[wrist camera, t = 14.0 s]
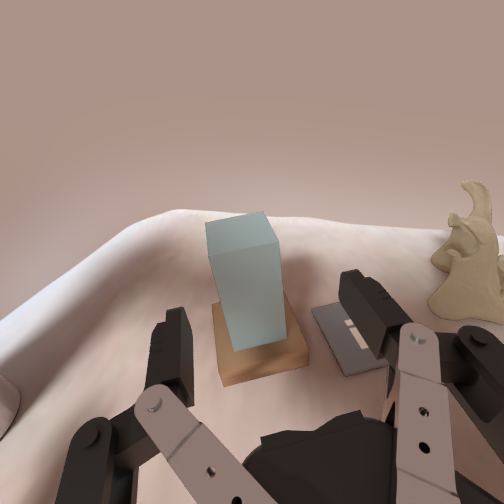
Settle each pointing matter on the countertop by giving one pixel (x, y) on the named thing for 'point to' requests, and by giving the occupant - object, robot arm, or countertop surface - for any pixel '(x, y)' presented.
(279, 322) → the block
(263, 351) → the stand
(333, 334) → the gray tile
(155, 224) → the countertop surface
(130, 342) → the countertop surface
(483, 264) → the jawbone
